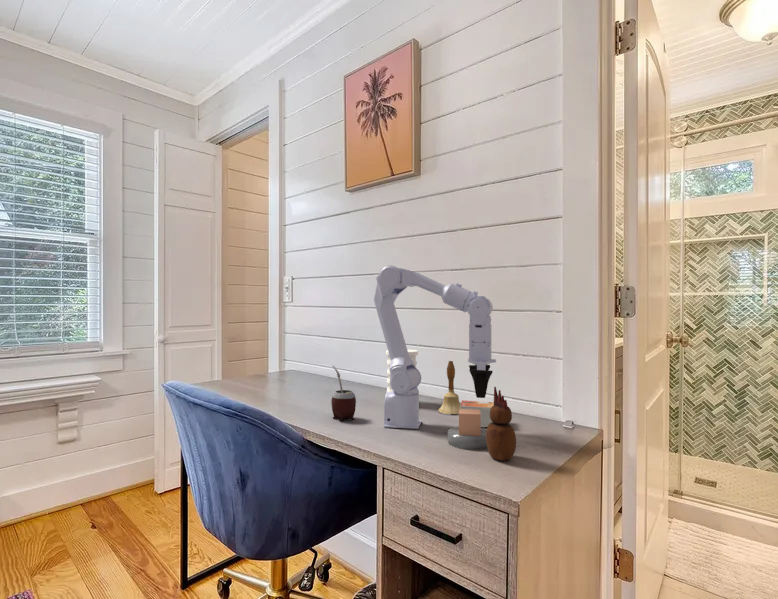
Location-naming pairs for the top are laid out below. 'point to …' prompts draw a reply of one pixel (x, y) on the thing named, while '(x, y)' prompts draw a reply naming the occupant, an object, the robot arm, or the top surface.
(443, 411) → the hand bell
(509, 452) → the wooden figurine
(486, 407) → the small box
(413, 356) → the decorative container
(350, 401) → the mate gourd
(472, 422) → the block
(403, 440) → the top surface
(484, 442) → the pedestal
